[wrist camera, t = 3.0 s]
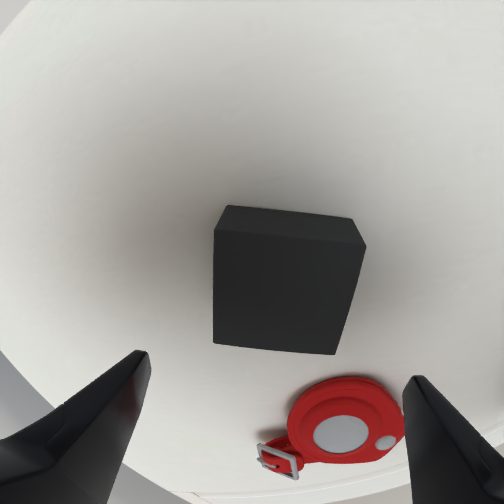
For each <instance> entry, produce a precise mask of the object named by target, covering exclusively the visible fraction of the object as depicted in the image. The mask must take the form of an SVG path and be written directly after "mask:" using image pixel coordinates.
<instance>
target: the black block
mask: <svg viewBox="0 0 504 504" xmlns="http://www.w3.org/2000/svg"><path fill="white" fill-rule="evenodd" d="M365 250H366V244H365V242H364V241H363V239H362V237H361V235H360V233H359V231H358V229H357V227H356V225H355V223H354V222H353V220H352V219H348V218H341V217H333V216H325V215H316V214H308V213H299V212H290V211H281V210H272V209H262V208H252V207H241V206H230V205H227V206H226V208H225V210H224V212H223V214H222V216H221V218H220V220H219V222H218V224H217V225H216V227H215V229H214V254H213V342H214V343H215V344H222V345H230V346H238V347H246V348H255V349H264V350H274V351H285V352H296V353H309V354H324V355H335V353H336V350H337V347H338V344H339V341H340V338H341V335H342V332H343V328H344V325H345V322H346V319H347V316H348V312H349V309H350V306H351V302H352V299H353V295H354V292H355V288H356V285H357V281H358V277H359V274H360V270H361V266H362V262H363V258H364V254H365Z"/></svg>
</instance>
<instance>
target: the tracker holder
mask: <svg viewBox="0 0 504 504" xmlns="http://www.w3.org/2000/svg"><path fill="white" fill-rule="evenodd" d="M287 433H288V435H287V436H283V437H279V438H275V439H273V440H271V441H269V442H267V443H266V444H265V445H264V444H261V443H259V444H258V445H257V449H258V453H259V456H260V458H259V457H258V458H257V460H258V461H259V462H260V463H261V464H262V466H263V467H264V468H266V469H269V470H271V471H273V472H276V473H278V474H281V475H283V476H286V477H288V478H291V479H293V480H298V479H299V475H298V471H300V470H302V469H303V467H304V464H306V463H315V462H323V463H334V464H353V463H366V462H372V461H376V460H379V459H381V458H382V457H383V456H385V455H386V454H387V453H388V452H389V451H390V450H391V449H392V448H393V447H394V446H395V445H396V444H397V443H398V442H399V441H400V440H401V439H402V438H403V437H404V435H405V431H404V417H403V415H402V412H401V409H400V407H399V406H398V404H397V402H396V401H395V400H394V399H393V397H392V396H391V395H390V394H389V393H388V392H387V391H386V389H385V388H384V387H382V386H381V385H380V384H378V383H376V382H374V381H372V380H369V379H366V378H360V377H340V378H334V379H331V380H327V381H324V382H321V383H319V384H317V385H315V386H313V387H311V388H310V389H308V390H307V391H306V392H304V393H303V394H302V395H301V396H300V397H299V398H298V400H297V401H296V402H295V404H294V406H293V408H292V410H291V412H290V414H289V417H288V421H287ZM290 472H292V473H290Z"/></svg>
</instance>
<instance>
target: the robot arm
mask: <svg viewBox="0 0 504 504" xmlns="http://www.w3.org/2000/svg"><path fill="white" fill-rule="evenodd" d="M150 375H151V364H150V360H149V355H148V353H147V352H146V351H141V350H135V351H133V352H132V353H130V354H129V355H128V356H126V357H125V358H124V359H122V360H121V361H120V362H118V363H117V364H116V365H114V366H113V367H112V368H110V369H109V370H108V371H106V372H105V373H103V374H102V375H101V376H99V377H98V378H97V379H95V380H94V381H93V382H91V383H90V384H89V385H87V386H86V387H85V388H83V389H82V390H80V391H79V392H78V393H76V394H75V395H74V396H72V397H71V398H70V399H68V400H67V401H66V402H64V404H61V405H60V406H59V407H57V408H56V409H55V410H53V411H52V412H50V413H49V414H47V415H46V416H44V417H43V418H41V419H40V420H38V421H36V422H34V423H33V424H31V425H29V426H27V427H26V428H24V429H22V430H20V431H18V432H17V433H15V434H13V435H11V436H9V437H7V438H5V439H1V440H0V504H107V501H108V499H109V496H110V492H111V490H112V487H113V484H114V482H115V479H116V476H117V473H118V471H119V468H120V465H121V462H122V460H123V457H124V454H125V452H126V449H127V446H128V444H129V441H130V439H131V436H132V433H133V431H134V428H135V426H136V423H137V420H138V418H139V415H140V412H141V409H142V406H143V402H144V398H145V394H146V390H147V386H148V383H149V379H150ZM402 398H403V413H404V431H405V439H406V446H407V454H408V461H409V470H410V479H411V488H412V500H413V504H504V458H503V457H502V456H501V455H500V454H499V453H498V452H497V451H496V450H495V449H494V448H493V447H492V446H491V445H490V444H489V443H488V442H487V441H486V440H485V439H484V438H483V437H482V436H481V435H480V434H479V432H478V431H477V430H476V429H475V428H474V427H473V426H472V425H471V424H470V423H469V422H468V421H467V420H466V419H465V418H464V417H463V416H462V415H461V414H460V413H459V411H458V410H457V409H456V408H455V407H454V406H453V405H452V404H451V403H450V402H449V401H448V400H447V399H446V398H445V397H444V396H443V395H442V394H441V393H440V392H439V391H438V390H437V389H436V388H435V387H434V386H433V385H432V384H431V383H430V382H429V381H428V380H427V379H426V378H425V377H424V376H422V375H414V376H412V377H411V378H410V380H409V382H408V383H407V385H406V387H405V388H404V390H403V395H402Z"/></svg>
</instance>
